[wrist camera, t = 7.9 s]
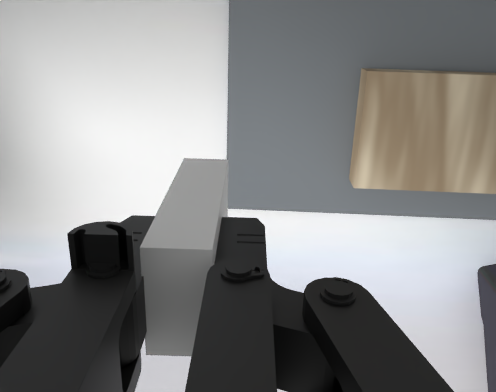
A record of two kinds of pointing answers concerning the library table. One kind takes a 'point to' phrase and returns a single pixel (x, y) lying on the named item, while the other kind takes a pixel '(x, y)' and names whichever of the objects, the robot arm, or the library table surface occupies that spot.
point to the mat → (336, 96)
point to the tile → (425, 131)
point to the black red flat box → (489, 319)
